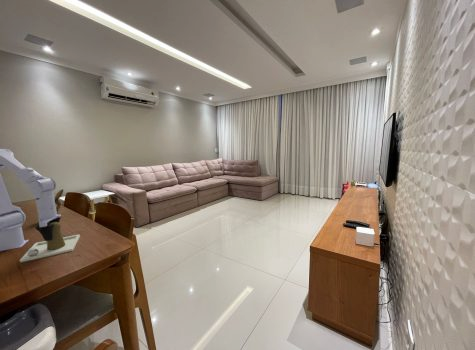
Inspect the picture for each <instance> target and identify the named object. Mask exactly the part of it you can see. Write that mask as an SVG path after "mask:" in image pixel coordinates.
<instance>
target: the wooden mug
mask: <svg viewBox="0 0 475 350" xmlns="http://www.w3.org/2000/svg"><path fill="white" fill-rule="evenodd" d="M63 194H64V189H61V190H59V191H58V192H57V193H56V195H54V200H55V205H57V206H56V211H57V215H59V211H60V210H61V209H60V208H61V205H62V203H61V201H60V198H61V197H62V196H63Z"/></svg>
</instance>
